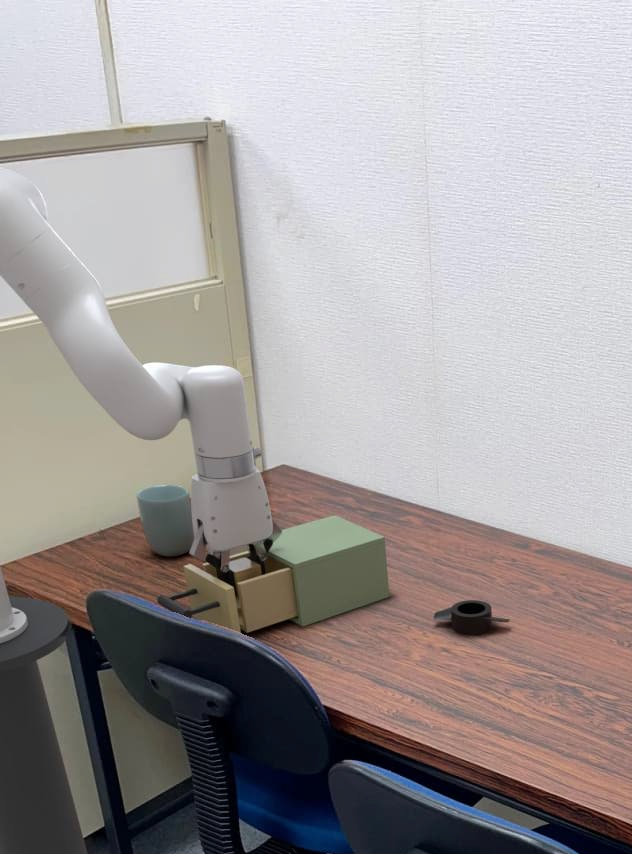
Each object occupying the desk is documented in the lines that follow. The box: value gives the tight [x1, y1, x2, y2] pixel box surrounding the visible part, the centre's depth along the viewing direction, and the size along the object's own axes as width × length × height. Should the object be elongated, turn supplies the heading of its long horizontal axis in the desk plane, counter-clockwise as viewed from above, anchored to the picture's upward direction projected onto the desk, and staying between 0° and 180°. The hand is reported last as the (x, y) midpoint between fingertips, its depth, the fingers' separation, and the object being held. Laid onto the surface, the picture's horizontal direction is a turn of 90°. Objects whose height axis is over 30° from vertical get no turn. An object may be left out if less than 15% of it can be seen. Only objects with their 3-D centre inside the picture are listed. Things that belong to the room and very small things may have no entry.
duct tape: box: [433, 599, 511, 636], centre depth 172 cm, size 8×10×3 cm
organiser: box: [247, 514, 390, 628], centre depth 177 cm, size 16×13×10 cm
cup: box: [136, 484, 195, 558], centre depth 192 cm, size 8×8×10 cm
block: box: [229, 557, 262, 599], centre depth 168 cm, size 4×4×4 cm
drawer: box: [156, 551, 298, 634], centre depth 169 cm, size 20×11×8 cm, turn 136°
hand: (243, 589), depth 169 cm, fingers closed on block, 4 cm apart
